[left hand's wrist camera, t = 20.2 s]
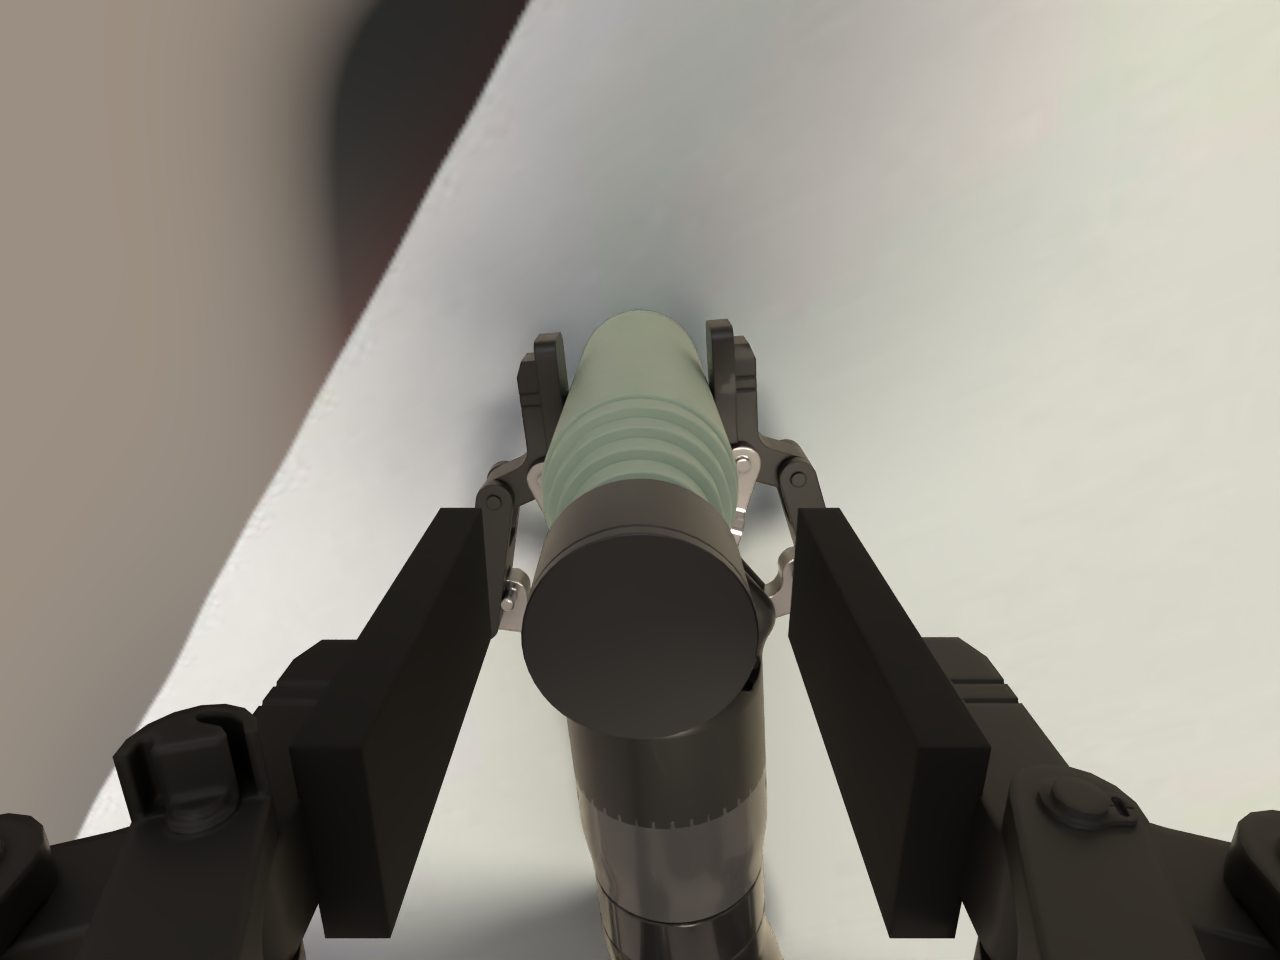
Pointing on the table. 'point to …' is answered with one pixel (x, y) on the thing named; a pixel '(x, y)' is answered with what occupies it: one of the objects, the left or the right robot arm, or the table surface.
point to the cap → (640, 612)
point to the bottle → (640, 418)
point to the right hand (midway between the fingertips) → (632, 332)
